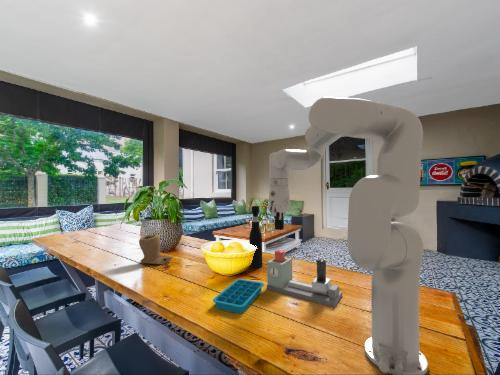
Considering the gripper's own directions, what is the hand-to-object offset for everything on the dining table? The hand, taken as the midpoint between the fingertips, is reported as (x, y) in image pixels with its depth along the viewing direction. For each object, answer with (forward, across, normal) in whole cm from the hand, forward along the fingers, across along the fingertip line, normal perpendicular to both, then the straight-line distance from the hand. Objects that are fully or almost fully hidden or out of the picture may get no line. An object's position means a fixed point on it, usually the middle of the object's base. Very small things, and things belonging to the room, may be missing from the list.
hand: (279, 229), depth 97 cm
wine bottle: (+23, +15, +21) cm, 35 cm away
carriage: (+21, 0, -17) cm, 27 cm away
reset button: (+15, 0, 0) cm, 15 cm away
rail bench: (+23, 0, -10) cm, 25 cm away
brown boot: (+24, -10, +69) cm, 74 cm away
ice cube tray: (+23, -17, +7) cm, 30 cm away
